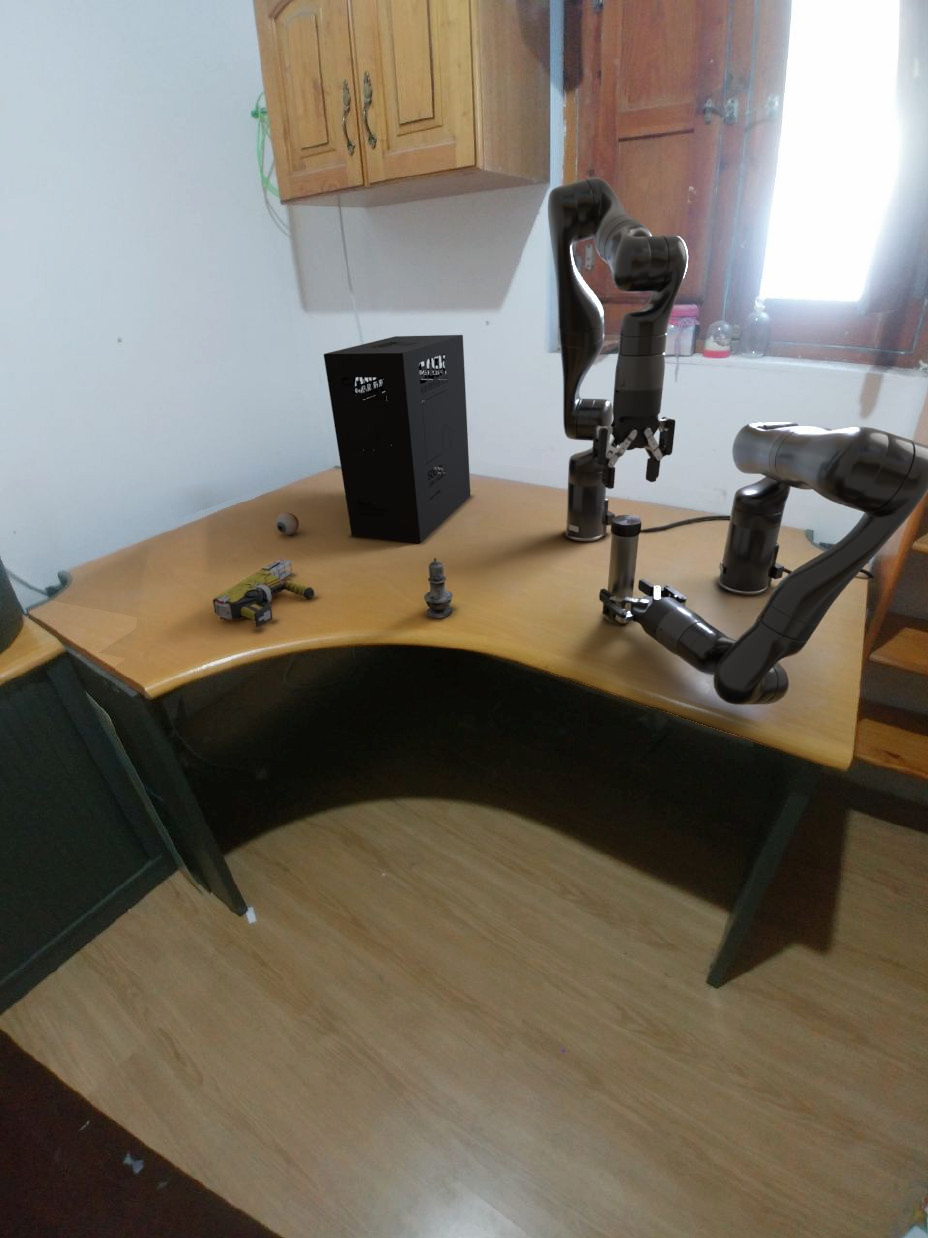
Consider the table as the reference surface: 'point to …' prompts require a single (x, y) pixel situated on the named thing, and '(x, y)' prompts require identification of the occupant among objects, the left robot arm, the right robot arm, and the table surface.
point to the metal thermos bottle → (622, 567)
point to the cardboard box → (401, 434)
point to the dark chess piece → (438, 592)
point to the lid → (626, 525)
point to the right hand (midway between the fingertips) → (620, 588)
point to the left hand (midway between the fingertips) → (629, 484)
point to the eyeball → (287, 523)
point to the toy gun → (258, 594)
